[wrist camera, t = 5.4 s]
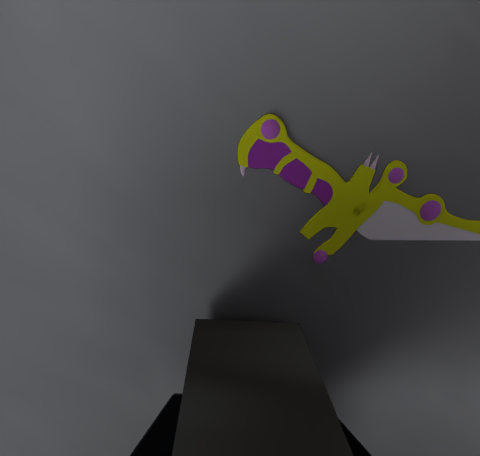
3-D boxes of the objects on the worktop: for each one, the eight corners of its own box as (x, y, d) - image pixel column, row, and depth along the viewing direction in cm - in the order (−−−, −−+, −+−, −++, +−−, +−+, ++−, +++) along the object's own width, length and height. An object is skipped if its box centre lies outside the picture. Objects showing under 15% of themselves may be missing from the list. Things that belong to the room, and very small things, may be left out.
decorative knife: (524, 335, 10) (632, 204, 8) (539, 346, 9) (656, 209, 8) (208, 226, 8) (277, 37, 7) (206, 232, 8) (281, 30, 6)
